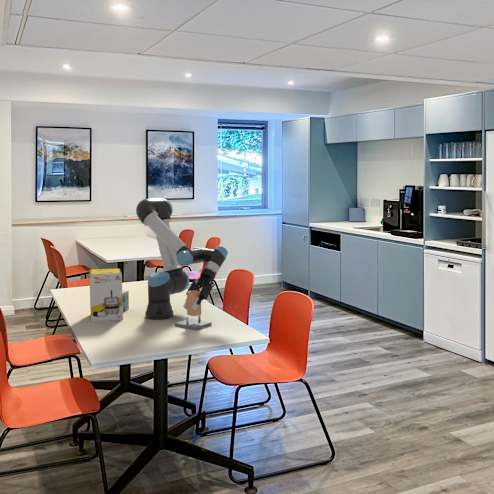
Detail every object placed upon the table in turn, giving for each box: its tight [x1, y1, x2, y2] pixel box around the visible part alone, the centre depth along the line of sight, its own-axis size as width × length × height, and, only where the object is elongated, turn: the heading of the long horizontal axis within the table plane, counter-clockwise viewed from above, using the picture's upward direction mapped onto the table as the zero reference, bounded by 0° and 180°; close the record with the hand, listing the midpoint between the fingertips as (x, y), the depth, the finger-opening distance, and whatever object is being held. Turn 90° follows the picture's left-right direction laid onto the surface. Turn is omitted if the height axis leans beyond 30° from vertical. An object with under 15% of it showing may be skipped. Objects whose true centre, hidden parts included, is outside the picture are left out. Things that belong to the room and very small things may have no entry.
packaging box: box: [88, 268, 124, 322], centre depth 324 cm, size 16×16×25 cm
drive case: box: [186, 290, 202, 317], centre depth 306 cm, size 5×5×12 cm
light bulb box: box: [122, 289, 130, 313], centre depth 341 cm, size 11×7×11 cm, turn 169°
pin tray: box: [174, 314, 213, 331], centre depth 307 cm, size 14×12×5 cm
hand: (189, 308), depth 303 cm, fingers closed on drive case, 5 cm apart
